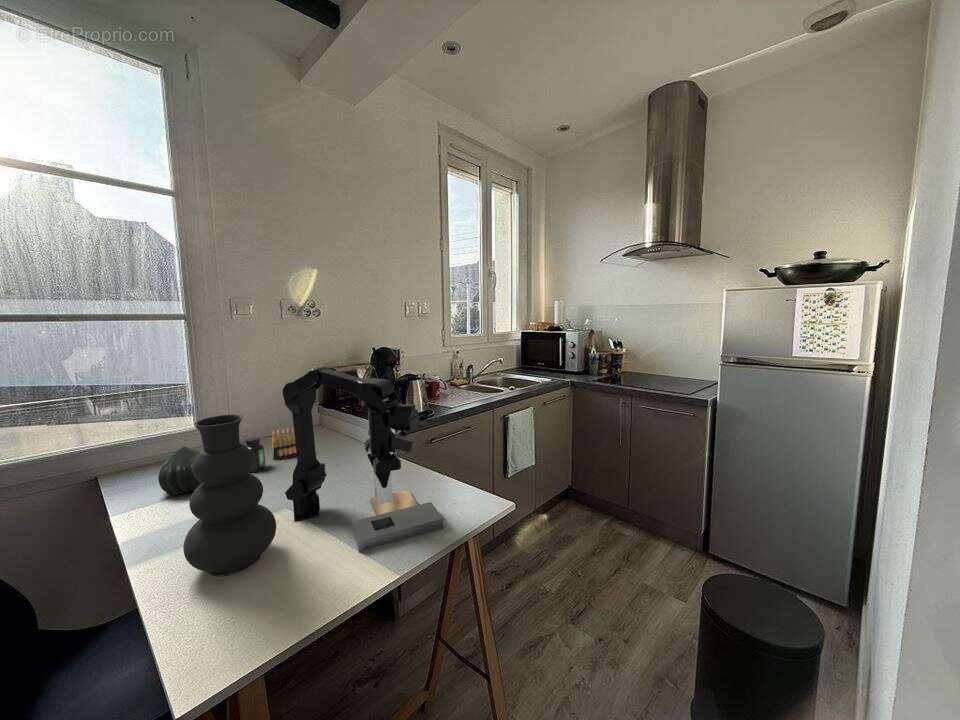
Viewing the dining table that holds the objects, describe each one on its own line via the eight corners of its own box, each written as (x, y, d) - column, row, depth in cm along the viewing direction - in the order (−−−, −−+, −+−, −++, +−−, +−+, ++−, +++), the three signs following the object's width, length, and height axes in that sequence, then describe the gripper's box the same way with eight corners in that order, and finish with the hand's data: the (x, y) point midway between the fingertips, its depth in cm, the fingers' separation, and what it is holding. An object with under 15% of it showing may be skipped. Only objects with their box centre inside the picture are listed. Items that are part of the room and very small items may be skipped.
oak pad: (378, 521, 109) (377, 517, 108) (370, 502, 119) (370, 498, 119) (419, 510, 114) (419, 506, 114) (408, 493, 125) (408, 489, 124)
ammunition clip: (273, 460, 154) (270, 431, 152) (273, 459, 155) (270, 430, 154) (302, 454, 160) (300, 426, 158) (302, 453, 161) (299, 425, 160)
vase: (291, 559, 93) (278, 417, 88) (199, 603, 79) (177, 439, 74) (262, 530, 105) (249, 405, 100) (178, 565, 92) (159, 421, 87)
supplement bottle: (268, 469, 146) (265, 438, 144) (247, 474, 141) (244, 443, 139) (262, 464, 151) (259, 434, 149) (242, 469, 146) (239, 438, 144)
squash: (187, 487, 120) (204, 441, 128) (139, 490, 120) (159, 443, 128) (215, 498, 132) (228, 456, 140) (171, 501, 132) (187, 458, 140)
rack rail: (359, 552, 95) (358, 541, 95) (353, 531, 104) (352, 521, 103) (443, 528, 104) (443, 518, 104) (431, 511, 113) (430, 501, 113)
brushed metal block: (377, 505, 102) (376, 476, 101) (374, 498, 105) (373, 470, 104) (392, 501, 103) (391, 473, 102) (389, 495, 107) (388, 467, 106)
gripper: (420, 433, 96) (422, 492, 99) (402, 415, 113) (404, 465, 115) (374, 440, 92) (377, 502, 94) (362, 420, 109) (365, 472, 111)
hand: (382, 484), depth 104 cm, fingers closed on brushed metal block, 4 cm apart
